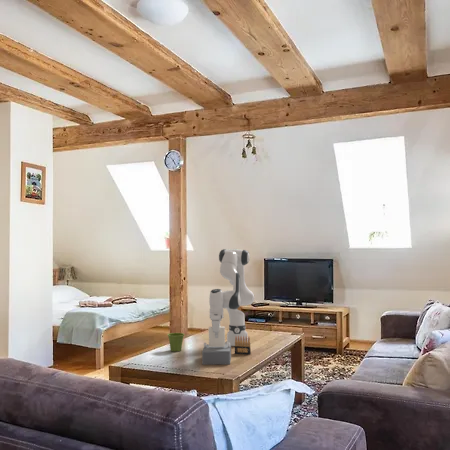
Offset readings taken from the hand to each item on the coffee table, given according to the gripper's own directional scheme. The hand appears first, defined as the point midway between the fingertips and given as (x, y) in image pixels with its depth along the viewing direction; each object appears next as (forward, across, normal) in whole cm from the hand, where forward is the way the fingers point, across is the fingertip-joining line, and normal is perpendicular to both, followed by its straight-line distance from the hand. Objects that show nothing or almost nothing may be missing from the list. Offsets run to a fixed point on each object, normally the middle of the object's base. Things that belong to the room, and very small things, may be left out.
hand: (216, 337), depth 321 cm
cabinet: (+15, 0, 0) cm, 15 cm away
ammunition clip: (+15, -18, +16) cm, 28 cm away
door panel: (+6, 0, 0) cm, 6 cm away
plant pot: (+15, -29, -30) cm, 44 cm away
